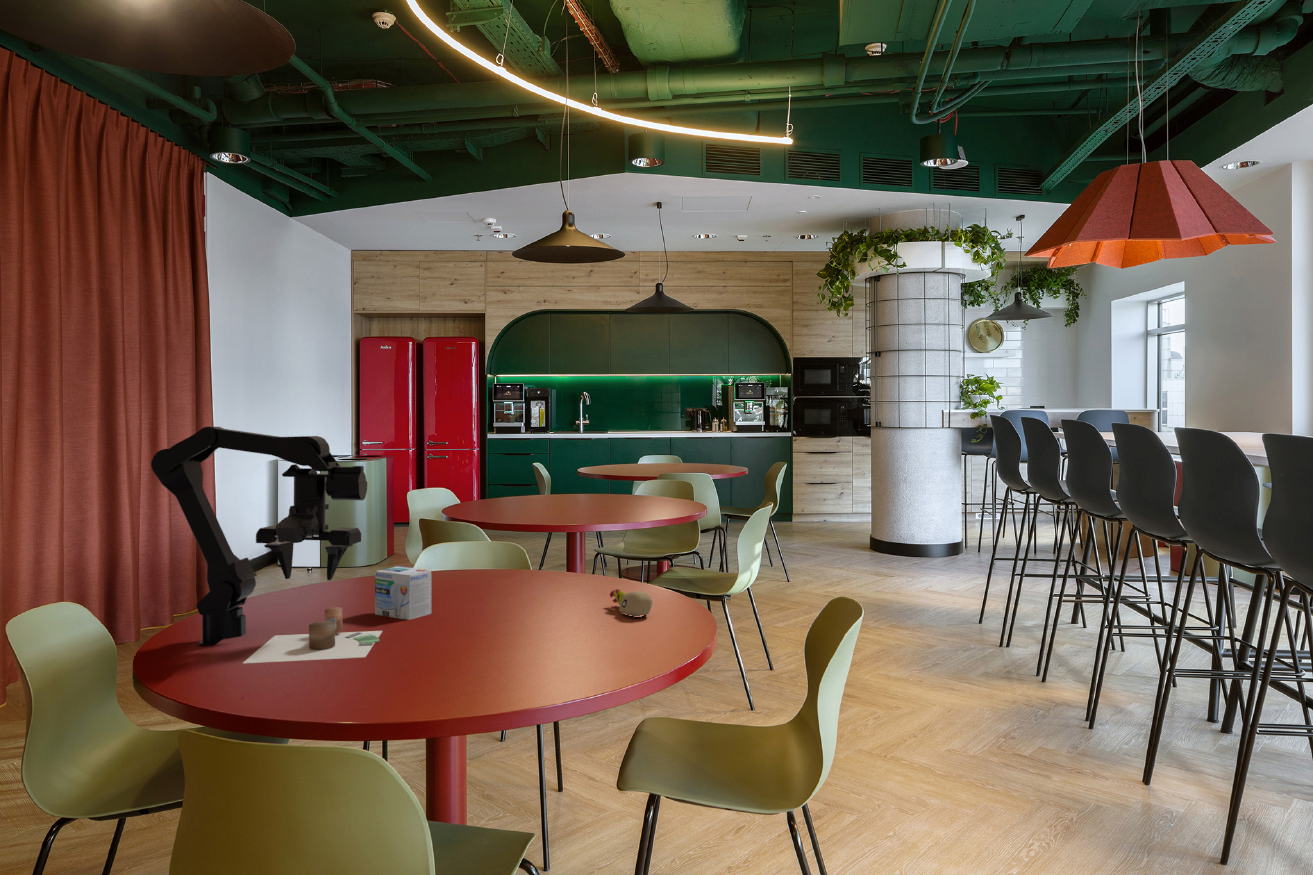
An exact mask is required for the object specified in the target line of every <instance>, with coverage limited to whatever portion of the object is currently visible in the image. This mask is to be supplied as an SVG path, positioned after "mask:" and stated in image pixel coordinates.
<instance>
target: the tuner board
mask: <svg viewBox="0 0 1313 875" xmlns="http://www.w3.org/2000/svg"><path fill="white" fill-rule="evenodd" d="M382 633H383V630H369V631H350V632H349V631H348V632H347V631H344V632H343V631H342V632H338V633H335V646H333V647H331V648H326V649H310V648H309V633H305V634H303V633H300V634H281V635H279V634H277V635H273V636H272V638H270V639H269V640H268V641H267V642H265V643H264V644H263V645H262V646H260V647H259V648H258V649H257V650H256V651H255V652H254V653H253V654H251V655H250V656H249V657H248V658H247V659H246V660H244V661H243V662H242V664H260V663H261V664H262V663H278V662H279V663H280V662H283V663H284V662H297V661H298V662H299V661H317V660H318V661H321V660H322V661H323V660H339V659H341V660H342V659H361V658H363V659H364V658H366V657H367V655H368V654H369V652H370V651H371V649H372V647H373V646H374V644H376V643H379V642H380V641H381V640H380V636H381V634H382Z"/></svg>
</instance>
